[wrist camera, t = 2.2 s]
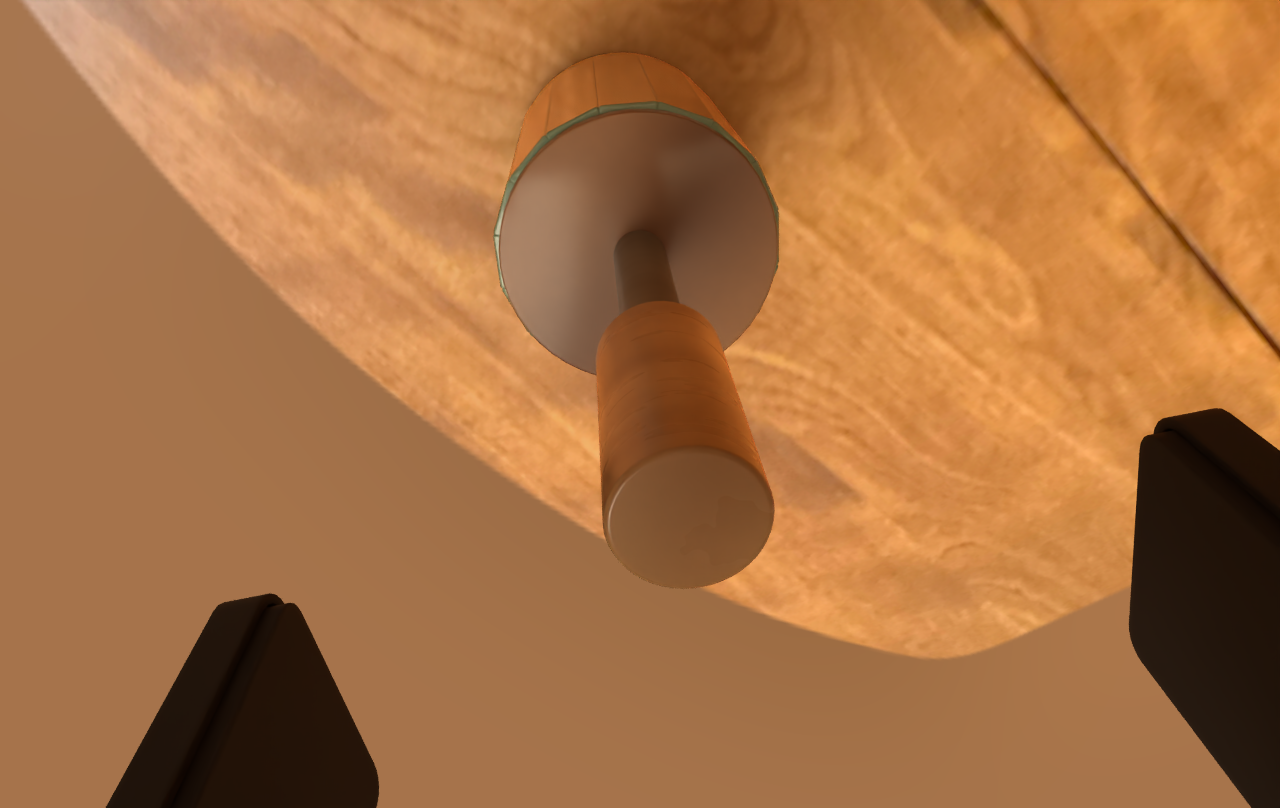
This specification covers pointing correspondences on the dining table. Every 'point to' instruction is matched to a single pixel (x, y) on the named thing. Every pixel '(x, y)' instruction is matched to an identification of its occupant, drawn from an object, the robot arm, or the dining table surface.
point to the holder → (614, 109)
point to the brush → (653, 326)
